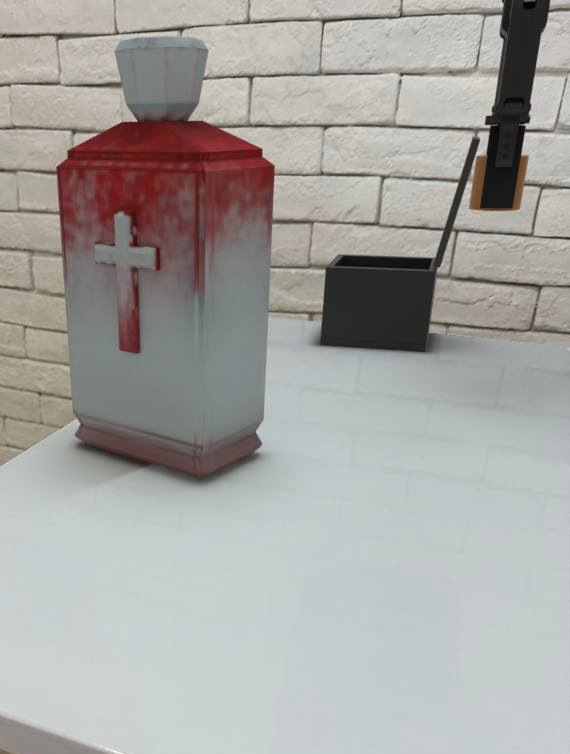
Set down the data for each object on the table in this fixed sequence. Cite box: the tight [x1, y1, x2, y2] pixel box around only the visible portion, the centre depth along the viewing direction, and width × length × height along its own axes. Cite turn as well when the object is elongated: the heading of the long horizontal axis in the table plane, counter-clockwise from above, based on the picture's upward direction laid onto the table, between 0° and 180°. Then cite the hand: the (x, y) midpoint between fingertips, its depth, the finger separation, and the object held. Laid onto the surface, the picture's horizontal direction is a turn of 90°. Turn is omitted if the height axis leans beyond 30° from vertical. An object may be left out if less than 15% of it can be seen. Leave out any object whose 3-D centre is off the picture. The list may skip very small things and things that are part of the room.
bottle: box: [55, 35, 276, 480], centre depth 63 cm, size 14×10×30 cm
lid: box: [433, 135, 481, 268], centre depth 95 cm, size 13×11×1 cm
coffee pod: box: [468, 154, 530, 212], centre depth 74 cm, size 4×4×4 cm
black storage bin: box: [319, 253, 439, 352], centre depth 102 cm, size 13×11×9 cm
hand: (495, 204), depth 75 cm, fingers closed on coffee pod, 4 cm apart
